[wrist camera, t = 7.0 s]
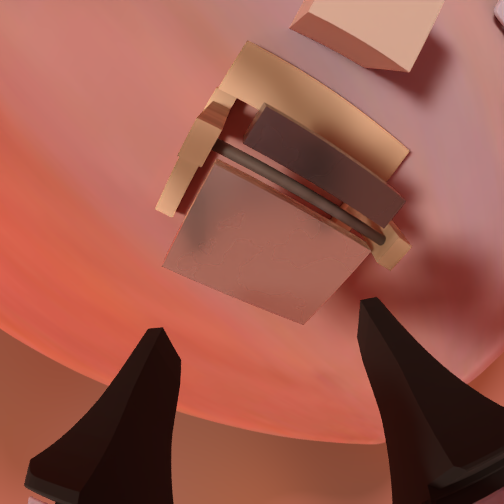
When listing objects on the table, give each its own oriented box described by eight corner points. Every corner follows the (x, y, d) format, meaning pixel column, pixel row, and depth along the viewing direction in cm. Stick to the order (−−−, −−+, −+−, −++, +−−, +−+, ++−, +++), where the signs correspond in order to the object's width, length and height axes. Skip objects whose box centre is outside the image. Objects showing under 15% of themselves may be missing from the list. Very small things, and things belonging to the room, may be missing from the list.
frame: (245, 40, 13) (244, 25, 8) (404, 148, 17) (461, 189, 11) (158, 203, 19) (126, 263, 13) (306, 273, 22) (322, 342, 17)
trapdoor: (253, 95, 11) (253, 99, 10) (400, 193, 13) (413, 206, 12) (166, 253, 15) (160, 270, 14) (300, 310, 17) (304, 328, 16)
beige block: (394, 8, 12) (446, -4, 7) (363, 67, 14) (409, 72, 10) (322, -33, 11) (353, -67, 6) (289, 28, 13) (308, 11, 8)
